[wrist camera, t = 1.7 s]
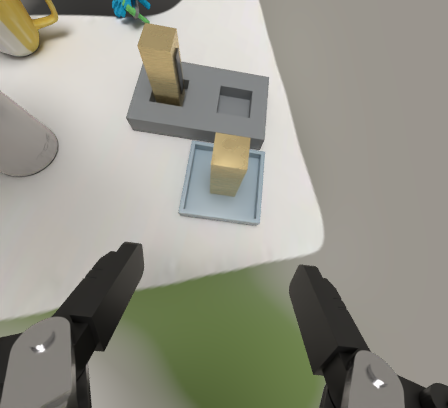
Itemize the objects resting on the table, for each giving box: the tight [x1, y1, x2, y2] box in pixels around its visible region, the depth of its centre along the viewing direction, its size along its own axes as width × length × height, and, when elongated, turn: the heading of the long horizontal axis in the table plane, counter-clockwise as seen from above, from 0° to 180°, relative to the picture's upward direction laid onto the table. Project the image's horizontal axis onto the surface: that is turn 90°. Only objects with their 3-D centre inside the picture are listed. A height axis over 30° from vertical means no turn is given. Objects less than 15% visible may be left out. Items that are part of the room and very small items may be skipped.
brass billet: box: [210, 132, 251, 197], centre depth 26 cm, size 4×4×10 cm
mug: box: [0, 0, 58, 56], centre depth 30 cm, size 14×10×10 cm
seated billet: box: [138, 23, 185, 107], centre depth 28 cm, size 4×4×10 cm
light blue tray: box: [179, 140, 265, 225], centre depth 30 cm, size 12×12×2 cm
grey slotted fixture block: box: [126, 62, 269, 150], centre depth 33 cm, size 22×13×3 cm, turn 83°
